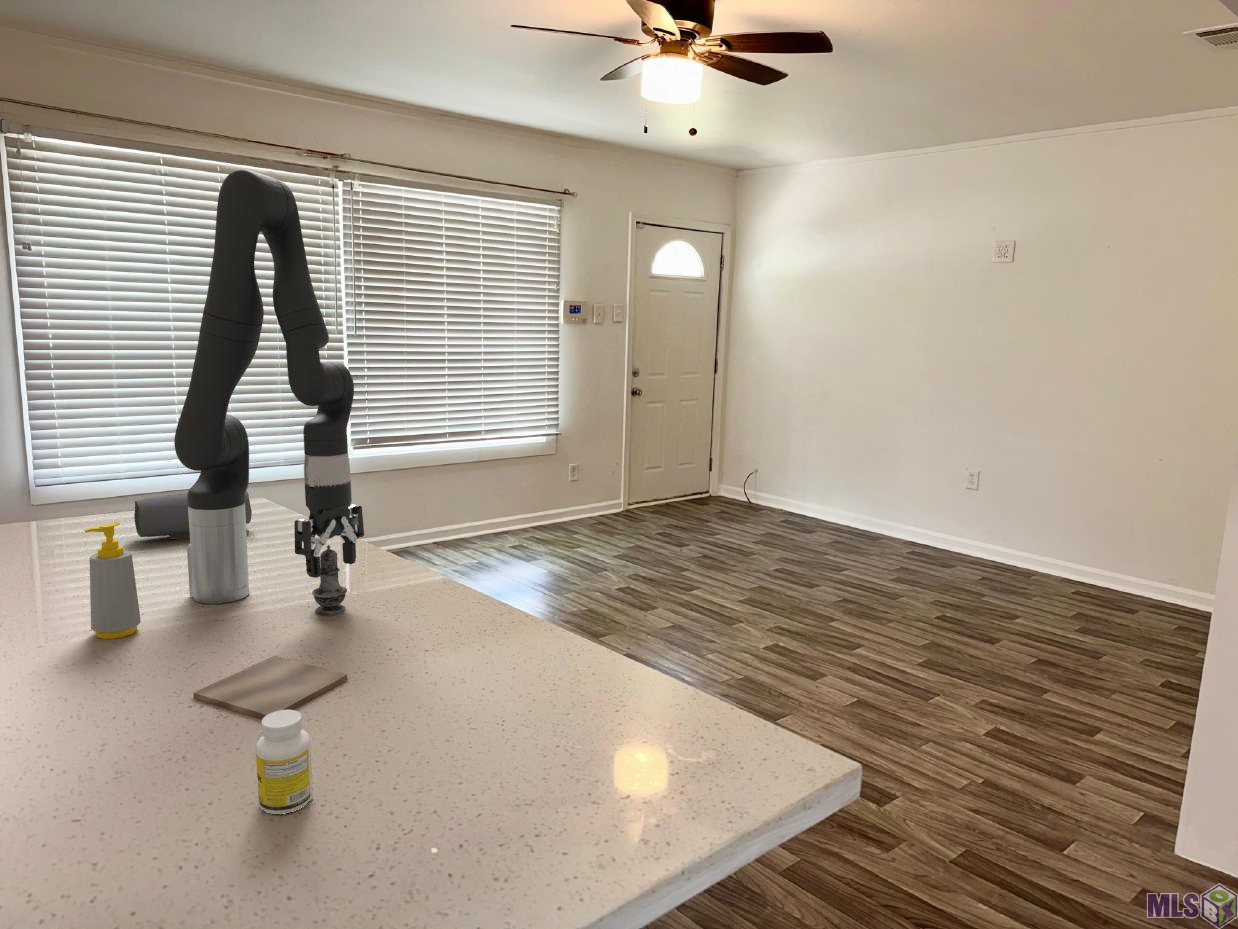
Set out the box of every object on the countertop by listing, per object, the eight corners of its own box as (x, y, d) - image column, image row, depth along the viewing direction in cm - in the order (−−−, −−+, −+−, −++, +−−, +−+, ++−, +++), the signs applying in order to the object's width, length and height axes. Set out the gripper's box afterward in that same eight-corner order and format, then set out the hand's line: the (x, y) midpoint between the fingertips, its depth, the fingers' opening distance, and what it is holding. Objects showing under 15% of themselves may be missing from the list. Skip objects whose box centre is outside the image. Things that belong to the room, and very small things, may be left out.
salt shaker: (353, 605, 147) (351, 541, 145) (339, 617, 141) (337, 550, 139) (321, 603, 147) (320, 539, 145) (306, 615, 141) (304, 548, 139)
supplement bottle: (268, 788, 90) (264, 706, 89) (318, 787, 91) (316, 705, 89) (250, 817, 85) (246, 731, 83) (304, 816, 86) (301, 730, 84)
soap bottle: (81, 635, 130) (72, 525, 126) (125, 621, 136) (117, 516, 133) (107, 644, 126) (98, 532, 123) (150, 629, 133) (143, 523, 129)
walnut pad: (193, 698, 110) (193, 692, 110) (275, 660, 123) (274, 655, 123) (270, 721, 105) (270, 716, 105) (347, 679, 117) (347, 674, 117)
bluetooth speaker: (241, 524, 199) (240, 483, 197) (253, 532, 192) (251, 491, 190) (135, 537, 184) (132, 494, 182) (143, 547, 177) (140, 502, 175)
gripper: (339, 470, 148) (344, 556, 151) (279, 484, 135) (284, 578, 138) (372, 474, 145) (376, 562, 148) (314, 488, 132) (319, 584, 135)
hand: (332, 569), depth 143 cm, fingers open, 8 cm apart
